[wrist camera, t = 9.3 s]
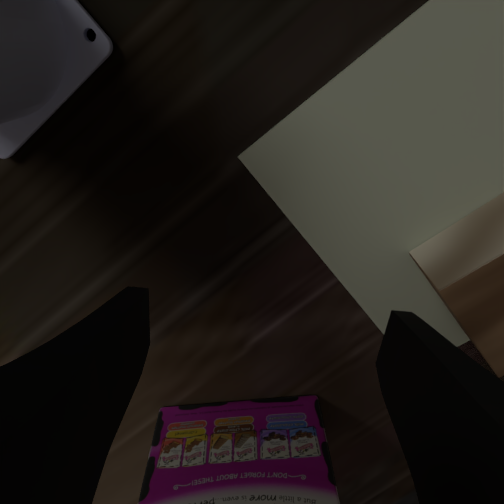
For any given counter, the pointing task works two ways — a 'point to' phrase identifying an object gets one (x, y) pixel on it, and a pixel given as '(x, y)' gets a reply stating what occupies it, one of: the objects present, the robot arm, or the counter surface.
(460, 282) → the walnut block
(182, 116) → the counter surface
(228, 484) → the candy bar box
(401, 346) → the robot arm
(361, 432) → the counter surface
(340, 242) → the cream board
